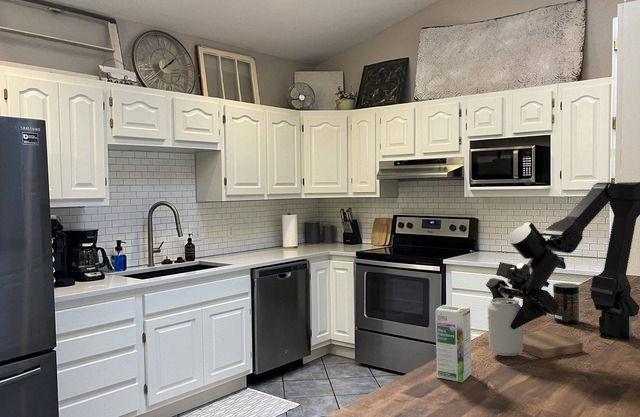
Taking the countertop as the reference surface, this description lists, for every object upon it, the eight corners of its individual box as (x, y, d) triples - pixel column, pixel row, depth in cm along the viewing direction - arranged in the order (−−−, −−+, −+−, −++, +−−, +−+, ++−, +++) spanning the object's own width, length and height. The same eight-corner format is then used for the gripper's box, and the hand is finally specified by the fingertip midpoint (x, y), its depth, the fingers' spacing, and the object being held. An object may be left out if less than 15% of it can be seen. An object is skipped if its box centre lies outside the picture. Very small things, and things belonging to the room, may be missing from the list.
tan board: (544, 337, 135) (544, 330, 134) (582, 351, 123) (582, 342, 123) (505, 344, 131) (505, 336, 130) (541, 358, 119) (541, 350, 119)
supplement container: (585, 322, 148) (584, 285, 147) (570, 326, 144) (569, 288, 144) (563, 317, 153) (562, 282, 153) (548, 321, 150) (547, 284, 150)
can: (526, 357, 117) (524, 304, 117) (491, 356, 119) (489, 304, 118) (520, 346, 125) (519, 296, 124) (487, 346, 126) (485, 296, 126)
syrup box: (435, 378, 110) (434, 309, 109) (446, 369, 115) (444, 303, 114) (462, 383, 107) (461, 312, 106) (472, 374, 111) (470, 306, 111)
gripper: (491, 245, 131) (454, 294, 128) (547, 254, 113) (506, 311, 110) (517, 273, 134) (482, 322, 131) (576, 286, 116) (537, 343, 113)
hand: (500, 324), depth 121 cm, fingers closed on can, 7 cm apart
